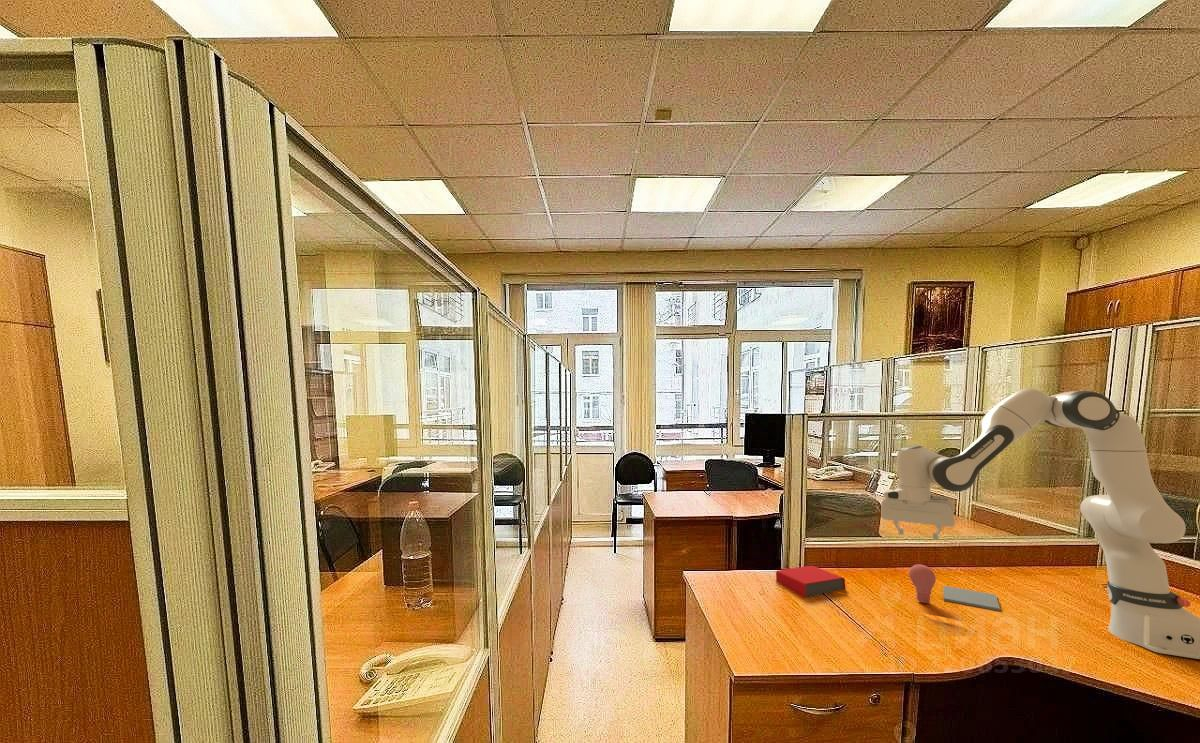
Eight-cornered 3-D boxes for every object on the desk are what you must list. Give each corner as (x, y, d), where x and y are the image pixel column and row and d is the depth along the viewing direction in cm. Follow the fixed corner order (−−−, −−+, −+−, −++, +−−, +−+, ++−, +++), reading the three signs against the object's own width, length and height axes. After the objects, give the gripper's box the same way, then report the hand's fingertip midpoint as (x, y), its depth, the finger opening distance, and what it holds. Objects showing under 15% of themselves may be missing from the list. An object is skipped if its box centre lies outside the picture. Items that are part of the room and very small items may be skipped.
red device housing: (814, 578, 168) (813, 565, 169) (845, 592, 155) (844, 577, 155) (776, 584, 162) (775, 570, 163) (805, 599, 149) (804, 583, 150)
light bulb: (943, 607, 140) (940, 568, 142) (921, 607, 140) (917, 568, 142) (927, 598, 147) (924, 561, 149) (906, 598, 147) (903, 561, 149)
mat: (995, 597, 148) (995, 594, 148) (1000, 611, 137) (1000, 608, 137) (943, 587, 156) (943, 585, 157) (943, 600, 146) (943, 598, 146)
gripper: (953, 496, 144) (957, 539, 143) (880, 490, 157) (883, 530, 155) (954, 498, 139) (958, 543, 138) (878, 492, 152) (881, 533, 150)
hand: (918, 536), depth 146 cm, fingers open, 8 cm apart
